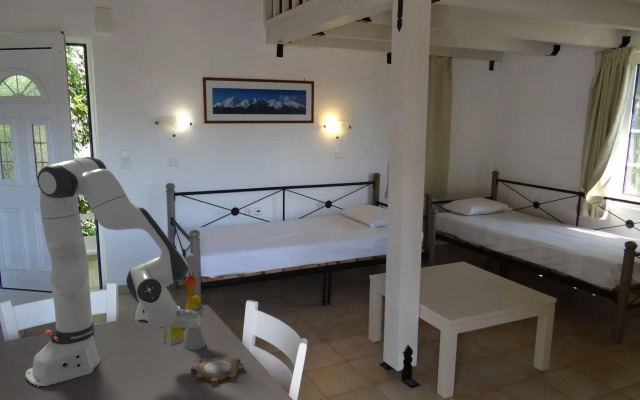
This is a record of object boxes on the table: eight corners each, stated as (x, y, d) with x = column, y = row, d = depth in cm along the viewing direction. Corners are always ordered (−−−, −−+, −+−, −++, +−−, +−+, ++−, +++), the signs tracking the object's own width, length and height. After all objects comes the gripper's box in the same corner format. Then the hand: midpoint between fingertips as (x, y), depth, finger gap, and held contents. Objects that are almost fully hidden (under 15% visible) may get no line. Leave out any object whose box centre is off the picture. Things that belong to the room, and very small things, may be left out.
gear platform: (212, 391, 156) (212, 386, 155) (180, 372, 167) (180, 367, 167) (255, 370, 169) (255, 365, 168) (223, 354, 180) (222, 349, 180)
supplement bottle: (188, 341, 171) (187, 305, 169) (176, 349, 165) (175, 312, 163) (171, 338, 173) (170, 303, 171) (159, 346, 167) (158, 310, 165)
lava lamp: (188, 352, 181) (185, 259, 175) (176, 344, 188) (173, 254, 182) (210, 344, 187) (207, 254, 182) (198, 337, 194) (195, 249, 188)
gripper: (197, 303, 159) (206, 319, 170) (134, 301, 160) (147, 318, 171) (194, 321, 156) (203, 337, 167) (129, 320, 156) (142, 336, 167)
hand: (174, 327), depth 169 cm, fingers closed on supplement bottle, 7 cm apart
